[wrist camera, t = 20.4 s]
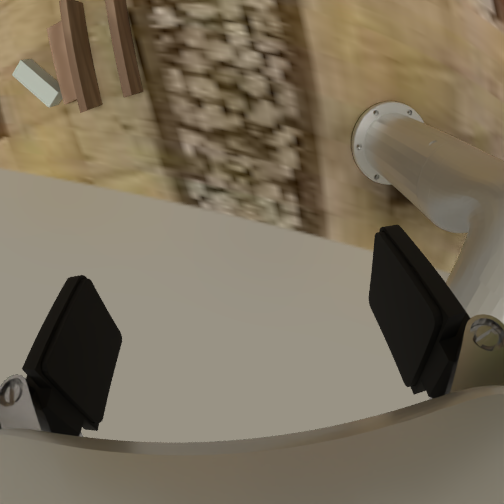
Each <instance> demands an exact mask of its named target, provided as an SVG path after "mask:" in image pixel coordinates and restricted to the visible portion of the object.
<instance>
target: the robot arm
mask: <svg viewBox="0 0 504 504" xmlns="http://www.w3.org/2000/svg"><path fill="white" fill-rule="evenodd" d="M373 111H375V113H373ZM407 111H408V112H407ZM357 145H358V147H356V146H357ZM352 153H353V157H354V160H355V162H356V164H357V166H358V167H359V169H360V170H361V171H362V172H363V173H364V174H365V175H366V176H367V177H368V178H369V179H371V180H372V181H374V182H377V183H380V184H385V185H393V186H394V187H395V188H396V189H397V190H399V191H400V192H401V193H402V194H403V195H404V196H405V197H406V198H407V199H408V200H410V201H411V202H412V203H413V204H414V205H415V206H416V207H417V208H418V209H419V210H420V211H421V212H422V213H423V214H424V215H425V216H426V217H427V218H429V219H430V220H431V221H432V222H433V223H434V224H435V225H436V226H438V227H439V228H441V229H443V230H446V231H449V232H453V233H468V235H467V237H466V240H465V242H464V245H463V247H462V250H461V253H460V255H459V257H458V259H457V261H456V263H455V265H454V267H453V269H452V271H451V273H450V275H449V277H448V279H447V281H446V283H445V282H444V280H443V279H442V278H441V276H440V275H439V274H438V272H437V271H436V270H435V268H434V267H433V266H432V265H431V263H430V262H429V261H428V259H427V258H426V257H425V256H424V254H423V253H422V252H421V251H420V250H419V248H418V247H417V246H416V245H415V243H414V242H413V241H412V240H411V239H410V237H409V236H408V235H407V234H406V233H405V232H404V230H403V229H402V228H401V227H400V226H399V225H393V226H386V227H382V228H380V231H379V232H378V233H376V234H375V240H374V252H373V263H372V273H371V282H370V291H369V304H370V307H371V309H372V311H373V313H374V316H375V318H376V320H377V322H378V324H379V326H380V329H381V331H382V333H383V335H384V337H385V340H386V342H387V344H388V346H389V348H390V350H391V353H392V355H393V358H394V360H395V362H396V365H397V367H398V369H399V372H400V374H401V376H402V379H403V381H404V383H405V385H406V386H407V387H410V386H411V389H412V391H413V393H414V394H417V393H420V392H423V391H427V394H428V396H429V397H430V399H429V400H427V401H424V402H421V403H418V404H415V405H411V406H408V407H405V408H402V409H398V410H395V411H391V412H388V413H384V414H380V415H377V416H373V417H369V418H365V419H361V420H357V421H353V422H349V423H344V424H340V425H335V426H331V427H326V428H321V429H315V430H310V431H304V432H298V433H292V434H285V435H278V436H271V437H262V438H253V439H243V440H231V441H215V442H188V443H161V442H133V441H118V440H106V439H96V438H88V437H83V435H82V433H81V428H82V427H83V428H84V429H86V430H96V431H97V430H98V426H99V423H100V422H101V421H102V419H103V416H104V411H105V406H106V402H107V397H108V393H109V389H110V385H111V381H112V377H113V373H114V369H115V365H116V362H117V358H118V354H119V350H120V346H121V343H122V336H121V333H120V331H119V329H118V328H117V326H116V324H115V323H114V321H113V319H112V317H111V316H110V314H109V312H108V311H107V309H106V307H105V305H104V303H103V302H102V300H101V298H100V296H99V294H98V293H97V291H96V289H95V287H94V285H93V283H92V281H91V280H90V279H87V278H86V277H85V276H83V275H81V276H74V277H70V278H68V279H67V281H66V282H65V284H64V286H63V288H62V289H61V291H60V293H59V295H58V297H57V299H56V300H55V302H54V304H53V306H52V308H51V310H50V312H49V314H48V316H47V317H46V319H45V321H44V323H43V325H42V327H41V329H40V331H39V333H38V335H37V337H36V339H35V342H34V344H33V346H32V348H31V350H30V352H29V354H28V357H27V359H26V361H25V364H24V366H23V368H22V369H23V371H24V372H25V373H26V374H27V378H26V379H25V378H24V377H23V376H22V375H18V374H16V375H12V376H10V377H8V378H7V379H6V380H5V381H4V382H3V383H2V384H1V386H0V504H504V161H503V160H501V159H499V158H496V157H494V156H492V155H490V154H488V153H486V152H484V151H482V150H480V149H478V148H476V147H474V146H472V145H470V144H468V143H466V142H464V141H462V140H460V139H458V138H456V137H453V136H451V135H449V134H447V133H445V132H443V131H441V130H438V129H436V128H434V127H432V126H429V125H427V124H425V123H424V122H423V120H422V118H421V117H420V115H419V114H418V113H417V112H416V111H415V110H414V109H412V108H411V107H409V106H408V105H405V104H403V103H399V102H395V101H385V102H381V103H378V104H376V105H373V106H372V107H370V108H369V109H368V110H366V111H365V112H364V113H363V114H362V116H361V117H360V118H359V120H358V122H357V123H356V125H355V128H354V131H353V135H352Z"/></svg>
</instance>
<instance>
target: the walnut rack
mask: <svg viewBox="0 0 504 504" xmlns="http://www.w3.org/2000/svg"><path fill="white" fill-rule="evenodd" d="M105 3H106V9H107V16H108V22H109V27H110V33H111V39H112V44H113V49H114V54H115V59H116V64H117V69H118V74H119V78H120V83H121V87H122V92H123V96H124V97H127V96H130V95H134V94H137V93H140V92H143V89H142V84H141V80H140V75H139V70H138V65H137V61H136V56H135V51H134V45H133V40H132V35H131V29H130V24H129V18H128V12H127V6H126V0H105ZM59 4H60V12H61V19H62V26H63V33H64V39H65V44H66V50H67V55H68V61H69V66H70V70H71V75H72V80H73V84H74V89H75V93H76V97H77V101H78V105H79V109H80V113H81V112H84V111H87V110H89V109H92V108H94V107H97V106H100V105H102V101H101V97H100V92H99V88H98V84H97V79H96V75H95V70H94V65H93V60H92V55H91V50H90V45H89V39H88V34H87V28H86V22H85V15H84V8H83V3H81V2H78V1H75V0H61V1H59Z"/></svg>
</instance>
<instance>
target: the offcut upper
mask: <svg viewBox="0 0 504 504" xmlns="http://www.w3.org/2000/svg"><path fill="white" fill-rule="evenodd" d="M12 75H13V76H14V77H15V78H16V79H17V80H18V81H19V82H21V83H22V84H23V85H24V86H25V87H26V88H27V89H28V90H30V91H31V92H32V93H33V94H34V95H35V96H36V97H37V98H39V99H40V100H41V101H42V102H43V103H44V104H45V105H46V106H48V107H52V106H55V105H58V104H59V103H60V102H61V100H62V94H61V90H60V87H59V83H58V81H57V80H55V79H54V78H53V77H52V76H51V75H49V74H48V73H47V72H46V71H45V70H44V69H42V68H41V67H40V66H39V65H38V64H37V63H35V62H34V61H33V60H32V59H26V60H20V62H19V64H18V65H17V67H16V69H15V71H14V72H13V74H12Z"/></svg>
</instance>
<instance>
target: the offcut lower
mask: <svg viewBox="0 0 504 504" xmlns="http://www.w3.org/2000/svg"><path fill="white" fill-rule="evenodd" d="M47 32H48V38H49V43H50V48H51V53H52V57H53V62H54V66H55V70H56V75H57V79H58V83H59V87H60V90H61V94H62V98H63V102H64V105H65V104H68V103H71V102H73V101H75V100H77V97H76V93H75V89H74V84H73V80H72V75H71V70H70V66H69V61H68V55H67V50H66V44H65V39H64V33H63V26H62V21H60V22H58V23H56V24H54V25H53V26H51V27H49V28H47Z"/></svg>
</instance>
